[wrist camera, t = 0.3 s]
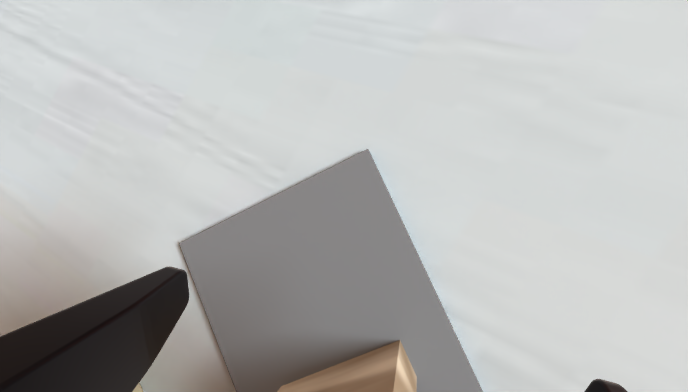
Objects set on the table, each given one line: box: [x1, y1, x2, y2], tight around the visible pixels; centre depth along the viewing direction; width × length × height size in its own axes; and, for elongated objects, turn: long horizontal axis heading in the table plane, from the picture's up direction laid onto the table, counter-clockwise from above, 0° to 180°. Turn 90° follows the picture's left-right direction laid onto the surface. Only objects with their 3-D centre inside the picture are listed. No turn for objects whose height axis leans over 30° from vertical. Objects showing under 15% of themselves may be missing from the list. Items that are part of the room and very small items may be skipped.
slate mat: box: [179, 149, 483, 392], centre depth 22 cm, size 16×14×1 cm
